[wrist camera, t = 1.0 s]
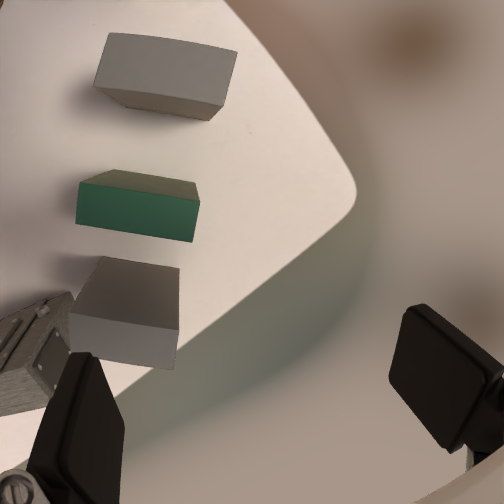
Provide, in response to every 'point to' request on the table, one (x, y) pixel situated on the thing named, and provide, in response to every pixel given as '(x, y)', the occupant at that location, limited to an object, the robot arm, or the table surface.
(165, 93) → the grey book
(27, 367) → the electronic device
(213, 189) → the table surface
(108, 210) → the green book
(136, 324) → the grey book
